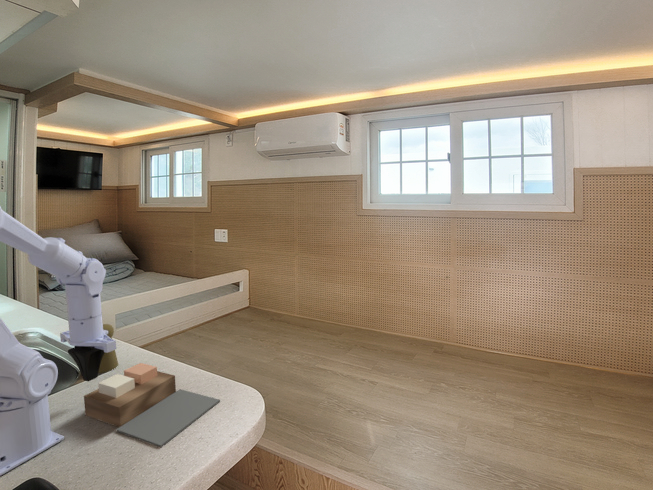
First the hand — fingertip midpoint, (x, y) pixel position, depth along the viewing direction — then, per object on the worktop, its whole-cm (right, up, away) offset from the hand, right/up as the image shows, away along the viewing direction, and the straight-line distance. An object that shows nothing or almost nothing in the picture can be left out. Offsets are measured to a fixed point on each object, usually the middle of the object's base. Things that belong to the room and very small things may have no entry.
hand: (90, 378), depth 73 cm
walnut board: (+9, -5, -1) cm, 10 cm away
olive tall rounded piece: (-7, -3, +15) cm, 17 cm away
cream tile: (+7, -1, -3) cm, 8 cm away
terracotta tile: (+9, -1, +2) cm, 10 cm away
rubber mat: (+19, -5, -5) cm, 20 cm away
